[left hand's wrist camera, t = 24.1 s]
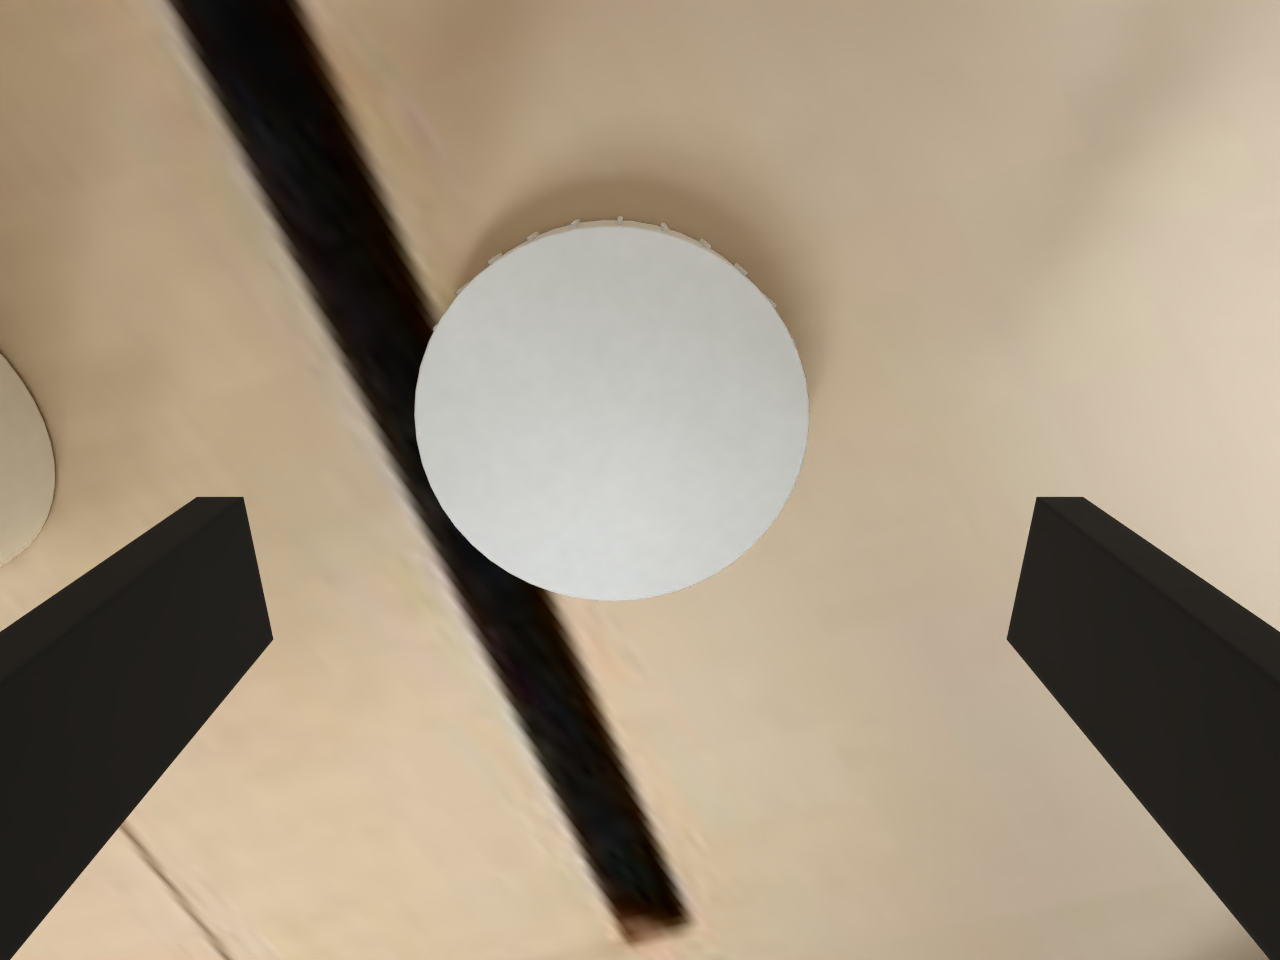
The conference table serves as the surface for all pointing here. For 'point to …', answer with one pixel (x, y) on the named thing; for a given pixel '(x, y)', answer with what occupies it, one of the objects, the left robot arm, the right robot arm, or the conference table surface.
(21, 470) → the jar
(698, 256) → the lid
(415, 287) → the conference table surface
